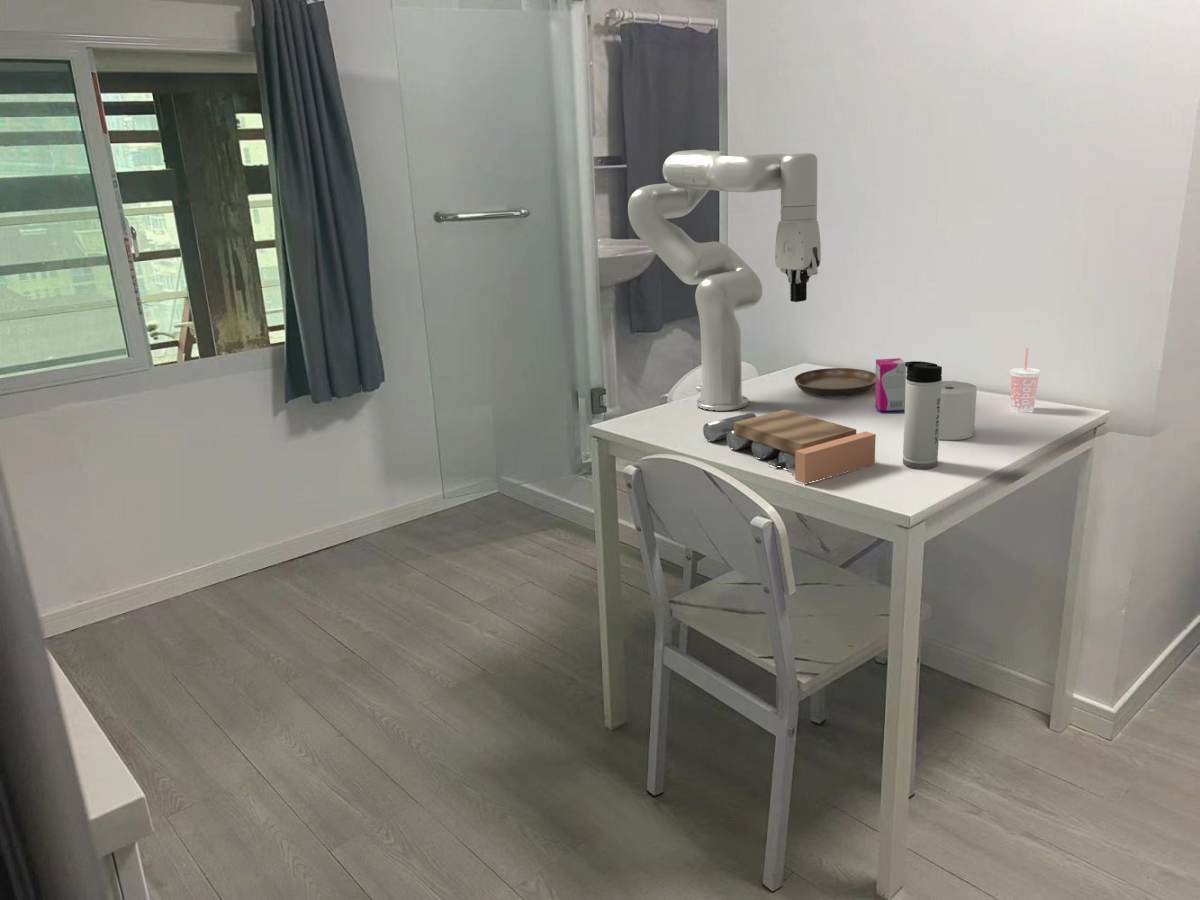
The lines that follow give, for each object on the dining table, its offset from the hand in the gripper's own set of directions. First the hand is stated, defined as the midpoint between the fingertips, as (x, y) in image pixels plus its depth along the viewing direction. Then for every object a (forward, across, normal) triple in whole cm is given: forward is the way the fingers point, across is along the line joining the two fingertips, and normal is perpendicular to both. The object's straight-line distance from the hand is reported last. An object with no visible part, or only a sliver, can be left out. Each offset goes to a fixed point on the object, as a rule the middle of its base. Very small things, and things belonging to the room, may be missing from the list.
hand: (798, 300), depth 201 cm
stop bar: (+27, +32, -18) cm, 45 cm away
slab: (+23, +19, -18) cm, 35 cm away
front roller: (+27, +16, -19) cm, 36 cm away
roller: (+27, +24, -19) cm, 41 cm away
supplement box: (+27, +7, +21) cm, 35 cm away
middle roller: (+27, +8, -19) cm, 34 cm away
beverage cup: (+27, +27, +42) cm, 56 cm away
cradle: (+27, +24, -19) cm, 41 cm away
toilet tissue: (+27, +28, +16) cm, 42 cm away
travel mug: (+27, +38, -3) cm, 47 cm away
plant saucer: (+28, -15, +25) cm, 40 cm away
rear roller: (+27, +1, -19) cm, 33 cm away
